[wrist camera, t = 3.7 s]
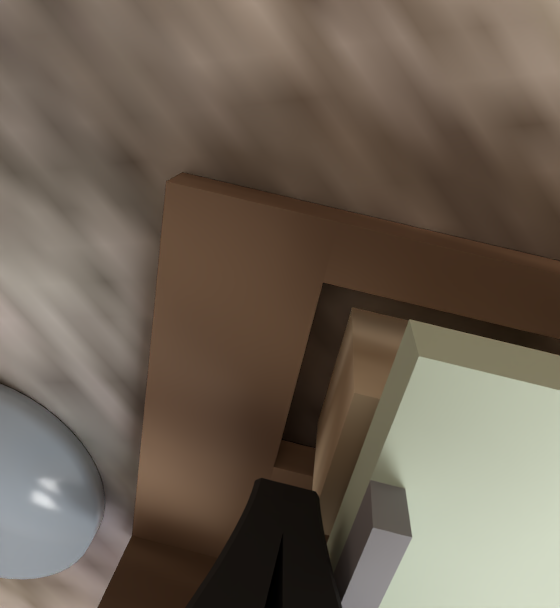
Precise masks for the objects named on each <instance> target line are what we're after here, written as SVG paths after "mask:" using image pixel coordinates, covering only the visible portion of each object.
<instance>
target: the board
mask: <svg viewBox="0 0 560 608" xmlns="http://www.w3.org/2000/svg"><path fill="white" fill-rule="evenodd" d="M323 283H327V284H331V285H336V286H340V287H344V288H348V289H352V290H356V291H361V292H365V293H369V294H373V295H377V296H381V297H386V298H390V299H394V300H398V301H402V302H406V303H411V304H415V305H419V306H423V307H427V308H431V309H436V310H440V311H444V312H448V313H452V314H456V315H461V316H465V317H469V318H473V319H477V320H481V321H486V322H490V323H494V324H498V325H502V326H506V327H511V328H515V329H519V330H523V331H527V332H531V333H536V334H540V335H544V336H548V337H552V338H556V339H560V261H557V260H553V259H549V258H545V257H540V256H536V255H532V254H528V253H523V252H519V251H515V250H511V249H506V248H502V247H498V246H494V245H489V244H485V243H481V242H477V241H472V240H468V239H464V238H460V237H455V236H451V235H447V234H443V233H438V232H434V231H430V230H426V229H421V228H417V227H413V226H409V225H404V224H400V223H396V222H392V221H387V220H383V219H379V218H375V217H370V216H366V215H362V214H358V213H353V212H349V211H345V210H341V209H336V208H332V207H328V206H324V205H319V204H315V203H311V202H307V201H302V200H298V199H294V198H290V197H285V196H281V195H277V194H273V193H268V192H264V191H260V190H256V189H251V188H247V187H243V186H239V185H234V184H230V183H226V182H222V181H217V180H213V179H209V178H205V177H200V176H196V175H192V174H188V173H183V172H182V173H181V174H179V175H177V176H175V177H173V178H171V179H170V180H168V181H166V188H165V199H164V209H163V219H162V230H161V240H160V251H159V261H158V271H157V282H156V292H155V302H154V313H153V323H152V334H151V344H150V354H149V365H148V375H147V385H146V396H145V406H144V417H143V427H142V437H141V448H140V458H139V468H138V479H137V489H136V500H135V510H134V520H133V531H132V537H131V539H130V541H129V543H128V545H127V547H126V549H125V551H124V554H123V556H122V558H121V560H120V562H119V564H118V566H117V568H116V570H115V572H114V575H113V577H112V579H111V581H110V583H109V585H108V587H107V589H106V591H105V593H104V596H103V598H102V600H101V602H100V604H99V606H98V608H185V607H186V605H187V604H188V602H189V601H190V600H191V598H192V597H193V595H194V594H195V592H196V591H197V589H198V588H199V586H200V585H201V583H202V582H203V580H204V579H205V577H206V576H207V574H208V573H209V571H210V570H211V568H212V566H213V565H214V563H215V561H216V560H217V558H218V556H219V555H220V553H221V551H222V550H223V548H224V546H225V545H226V543H227V541H228V539H229V538H230V536H231V534H232V532H233V531H234V529H235V527H236V525H237V523H238V521H239V519H240V517H241V515H242V513H243V511H244V509H245V507H246V504H247V502H248V500H249V497H250V494H251V492H252V489H253V485H254V482H255V480H257V479H259V478H265V479H269V480H272V481H276V482H280V483H284V484H288V485H292V486H296V487H300V488H304V489H308V490H312V486H313V474H314V462H315V450H316V448H312V447H308V446H304V445H300V444H296V443H292V442H288V441H284V440H281V438H282V435H283V431H284V427H285V423H286V420H287V416H288V412H289V408H290V405H291V401H292V397H293V393H294V390H295V386H296V382H297V378H298V375H299V371H300V367H301V363H302V360H303V356H304V352H305V348H306V345H307V341H308V337H309V333H310V330H311V326H312V322H313V318H314V314H315V311H316V307H317V303H318V299H319V296H320V292H321V288H322V284H323ZM325 539H326V543H327V542H328V539H329V535H325Z"/></svg>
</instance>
